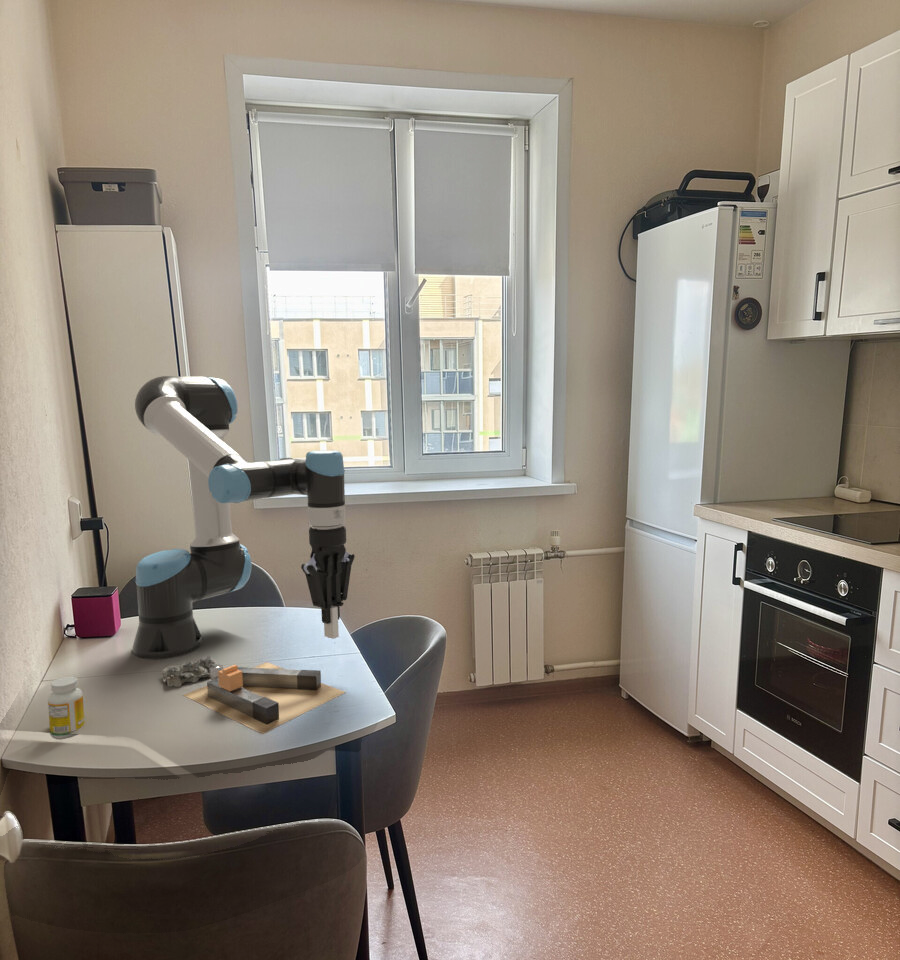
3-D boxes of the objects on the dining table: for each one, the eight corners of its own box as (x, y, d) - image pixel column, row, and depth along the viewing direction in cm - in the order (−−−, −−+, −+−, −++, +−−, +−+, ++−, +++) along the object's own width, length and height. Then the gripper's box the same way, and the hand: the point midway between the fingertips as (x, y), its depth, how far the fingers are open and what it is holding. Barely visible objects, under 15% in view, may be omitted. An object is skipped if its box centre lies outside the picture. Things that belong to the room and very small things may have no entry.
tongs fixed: (198, 692, 128) (196, 671, 128) (219, 683, 132) (218, 663, 132) (266, 724, 115) (265, 701, 115) (288, 714, 119) (287, 691, 119)
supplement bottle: (57, 743, 112) (52, 690, 111) (45, 733, 115) (41, 682, 114) (90, 731, 116) (86, 680, 115) (78, 721, 119) (74, 672, 118)
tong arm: (228, 685, 131) (228, 671, 131) (234, 679, 134) (234, 666, 133) (316, 690, 129) (316, 676, 128) (321, 684, 131) (320, 670, 131)
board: (183, 700, 127) (183, 695, 127) (266, 667, 143) (266, 662, 143) (262, 740, 112) (262, 733, 112) (346, 697, 128) (345, 692, 128)
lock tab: (218, 686, 123) (217, 667, 123) (231, 681, 126) (230, 662, 125) (230, 691, 121) (229, 672, 121) (242, 686, 124) (241, 667, 123)
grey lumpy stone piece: (168, 696, 130) (166, 677, 130) (160, 683, 136) (158, 664, 136) (221, 682, 136) (220, 664, 136) (211, 670, 142) (210, 652, 142)
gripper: (315, 532, 125) (320, 650, 128) (362, 522, 135) (366, 631, 138) (290, 529, 129) (295, 642, 132) (338, 519, 140) (341, 624, 142)
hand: (331, 636), depth 135 cm, fingers closed
